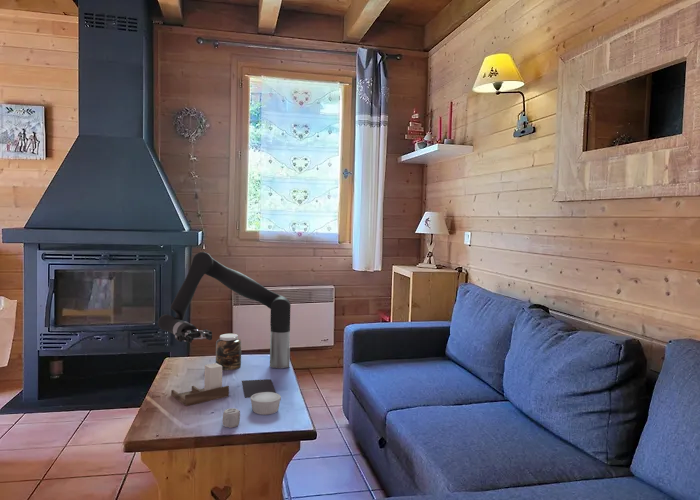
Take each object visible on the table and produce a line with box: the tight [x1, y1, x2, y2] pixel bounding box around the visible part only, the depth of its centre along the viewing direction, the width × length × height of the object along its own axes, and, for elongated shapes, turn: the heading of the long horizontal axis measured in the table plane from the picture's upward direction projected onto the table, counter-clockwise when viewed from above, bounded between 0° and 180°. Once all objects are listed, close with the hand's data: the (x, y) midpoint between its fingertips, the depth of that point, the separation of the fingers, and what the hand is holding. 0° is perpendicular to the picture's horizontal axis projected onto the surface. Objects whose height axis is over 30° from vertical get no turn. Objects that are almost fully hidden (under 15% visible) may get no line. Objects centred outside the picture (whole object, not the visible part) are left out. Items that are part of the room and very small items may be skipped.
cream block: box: [203, 362, 223, 391], centre depth 202 cm, size 5×5×12 cm
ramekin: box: [250, 392, 282, 416], centre depth 191 cm, size 11×11×5 cm
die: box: [221, 407, 241, 429], centre depth 177 cm, size 5×5×5 cm
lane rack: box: [170, 385, 230, 407], centre depth 201 cm, size 14×17×5 cm
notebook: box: [241, 378, 277, 399], centre depth 213 cm, size 13×2×21 cm
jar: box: [215, 333, 242, 371], centre depth 243 cm, size 12×12×15 cm
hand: (201, 339), depth 209 cm, fingers open, 8 cm apart
